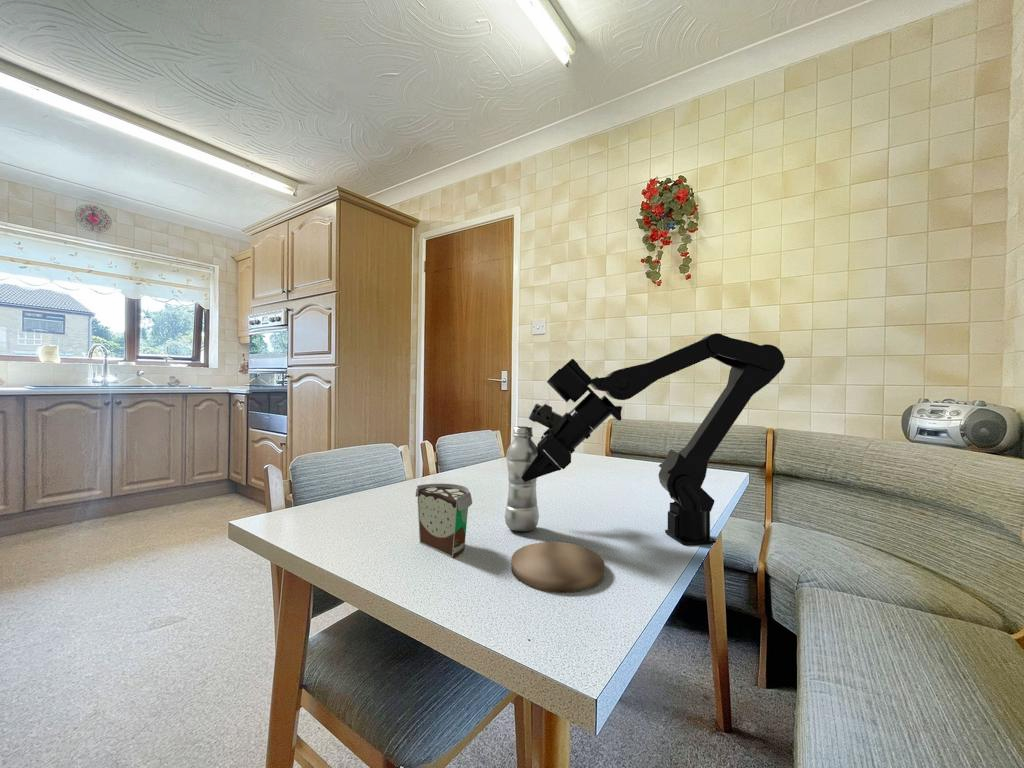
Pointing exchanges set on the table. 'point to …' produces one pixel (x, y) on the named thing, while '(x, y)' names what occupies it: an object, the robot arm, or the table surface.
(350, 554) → the table surface
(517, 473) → the plastic bottle
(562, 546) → the walnut stand
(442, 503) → the food container
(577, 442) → the robot arm
